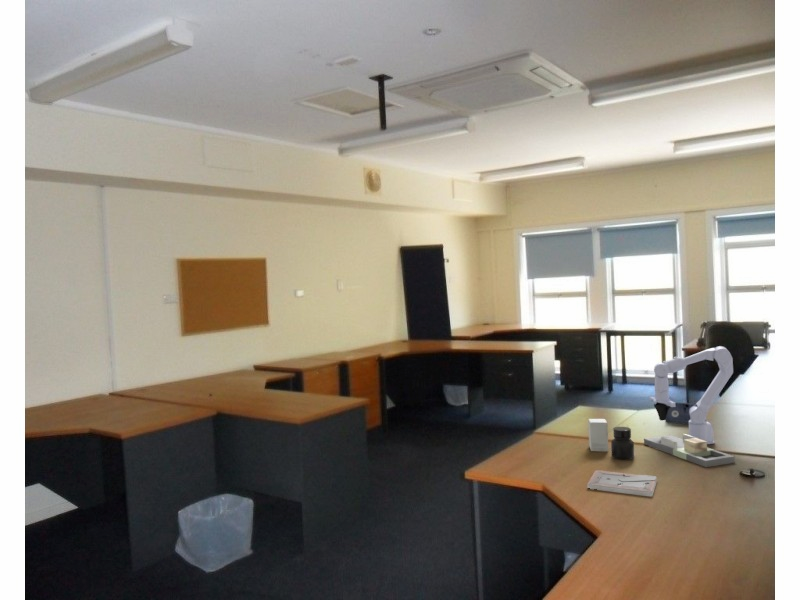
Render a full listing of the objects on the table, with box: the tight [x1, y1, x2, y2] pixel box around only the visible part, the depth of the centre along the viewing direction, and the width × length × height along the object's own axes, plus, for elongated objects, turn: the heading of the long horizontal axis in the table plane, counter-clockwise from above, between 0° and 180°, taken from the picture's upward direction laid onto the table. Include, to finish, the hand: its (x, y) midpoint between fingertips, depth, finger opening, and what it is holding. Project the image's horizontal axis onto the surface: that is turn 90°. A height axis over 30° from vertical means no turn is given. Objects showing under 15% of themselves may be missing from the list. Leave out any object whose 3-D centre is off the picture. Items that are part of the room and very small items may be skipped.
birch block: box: [684, 438, 708, 453], centre depth 247 cm, size 6×6×4 cm
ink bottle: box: [610, 426, 635, 461], centre depth 250 cm, size 10×9×12 cm
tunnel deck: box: [643, 433, 735, 468], centre depth 252 cm, size 14×36×6 cm, turn 16°
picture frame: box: [586, 469, 658, 497], centre depth 218 cm, size 16×2×22 cm
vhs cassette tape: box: [664, 402, 707, 425], centre depth 300 cm, size 18×3×10 cm, turn 58°
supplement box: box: [587, 418, 609, 452], centre depth 263 cm, size 7×7×13 cm
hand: (662, 420), depth 271 cm, fingers closed
